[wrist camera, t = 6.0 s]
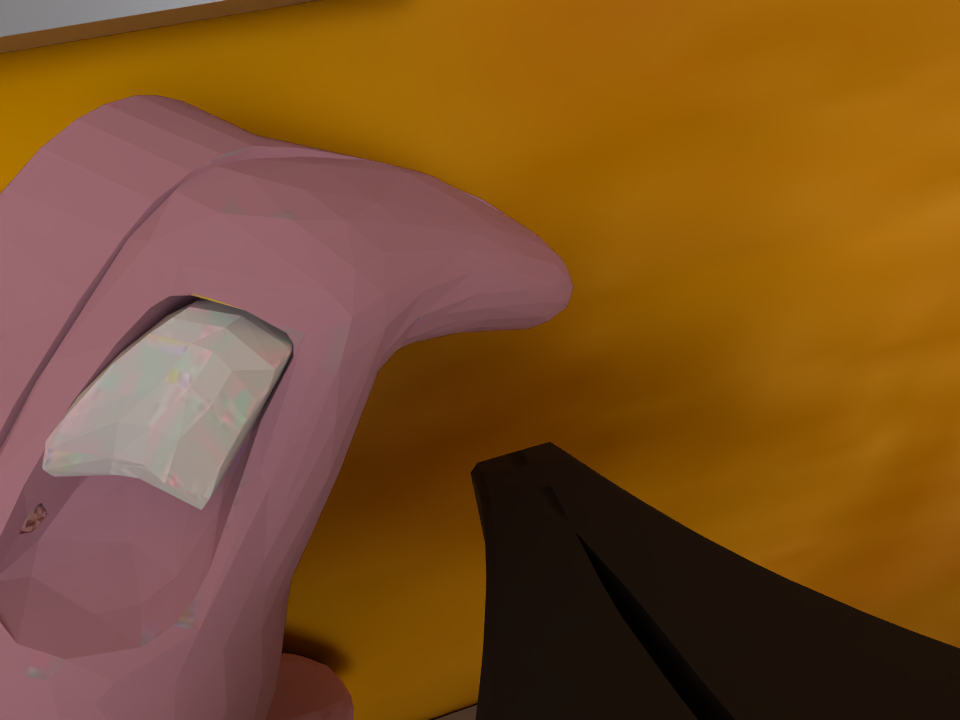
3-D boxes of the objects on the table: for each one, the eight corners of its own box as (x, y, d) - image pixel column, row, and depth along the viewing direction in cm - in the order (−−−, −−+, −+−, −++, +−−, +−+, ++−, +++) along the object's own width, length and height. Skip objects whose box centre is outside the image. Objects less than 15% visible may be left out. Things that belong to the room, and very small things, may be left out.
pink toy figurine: (322, 114, 10) (-284, -117, 3) (596, 244, 9) (597, 308, 3) (144, 613, 12) (-393, 1085, 6) (354, 728, 12) (50, 1367, 5)
